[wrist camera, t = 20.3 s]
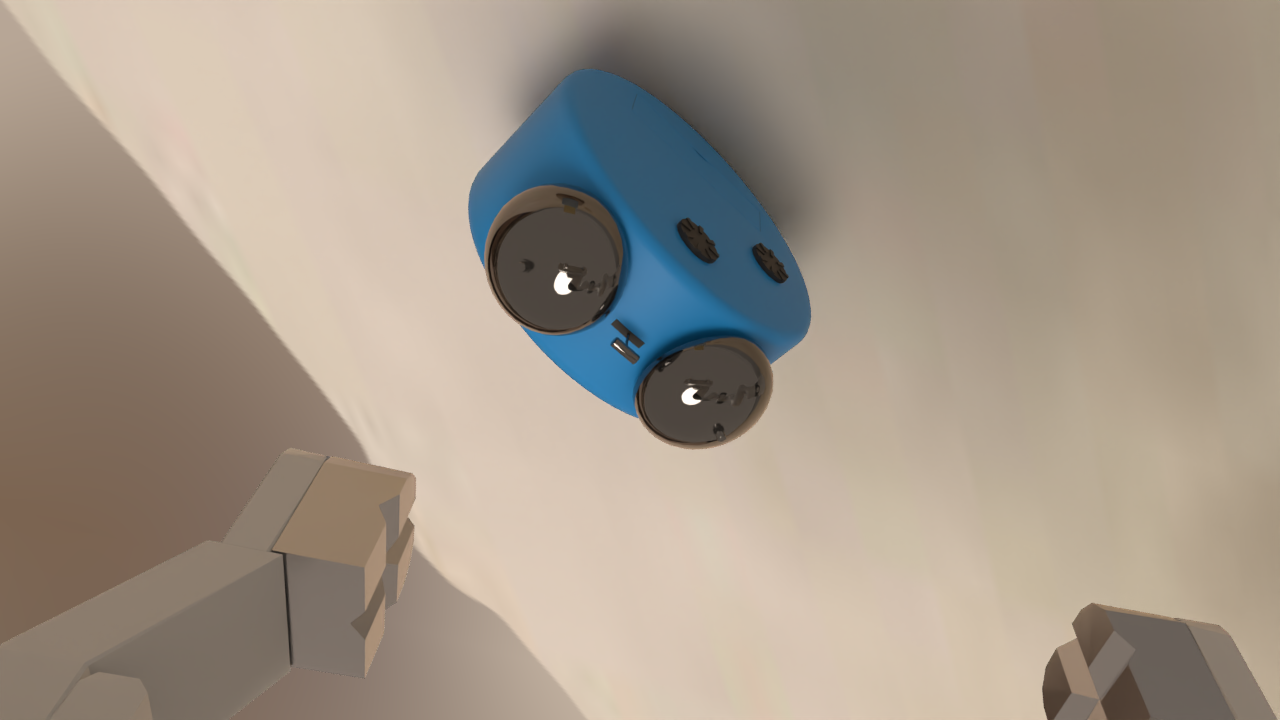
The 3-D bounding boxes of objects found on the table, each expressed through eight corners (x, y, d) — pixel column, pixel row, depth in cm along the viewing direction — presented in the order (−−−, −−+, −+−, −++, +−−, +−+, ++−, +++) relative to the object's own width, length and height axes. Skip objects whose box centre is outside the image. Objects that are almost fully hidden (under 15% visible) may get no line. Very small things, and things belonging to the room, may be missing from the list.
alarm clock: (506, 125, 41) (400, 286, 28) (600, 22, 38) (528, 151, 26) (712, 313, 45) (699, 526, 33) (810, 232, 42) (837, 431, 30)
